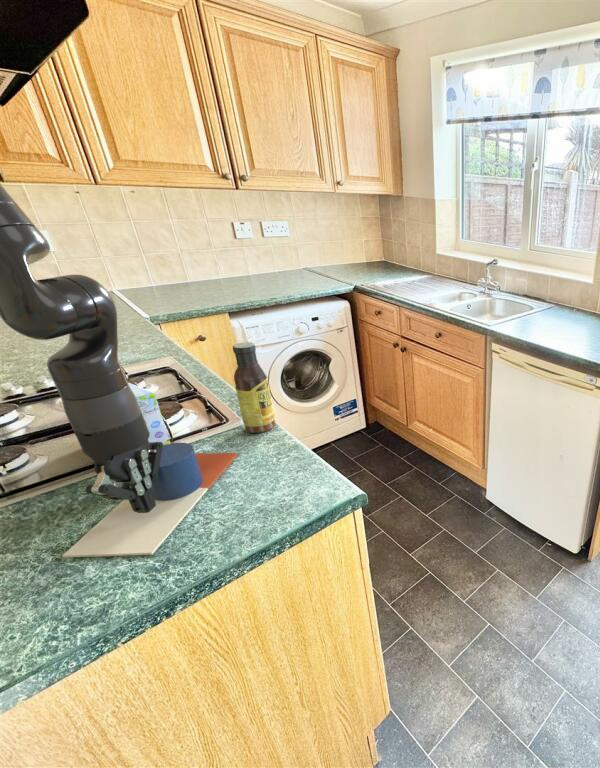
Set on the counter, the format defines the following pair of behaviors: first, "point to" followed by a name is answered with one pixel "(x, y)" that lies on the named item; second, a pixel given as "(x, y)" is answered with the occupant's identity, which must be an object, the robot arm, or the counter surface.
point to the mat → (146, 519)
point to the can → (176, 472)
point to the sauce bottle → (252, 390)
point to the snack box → (151, 414)
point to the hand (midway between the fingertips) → (146, 509)
